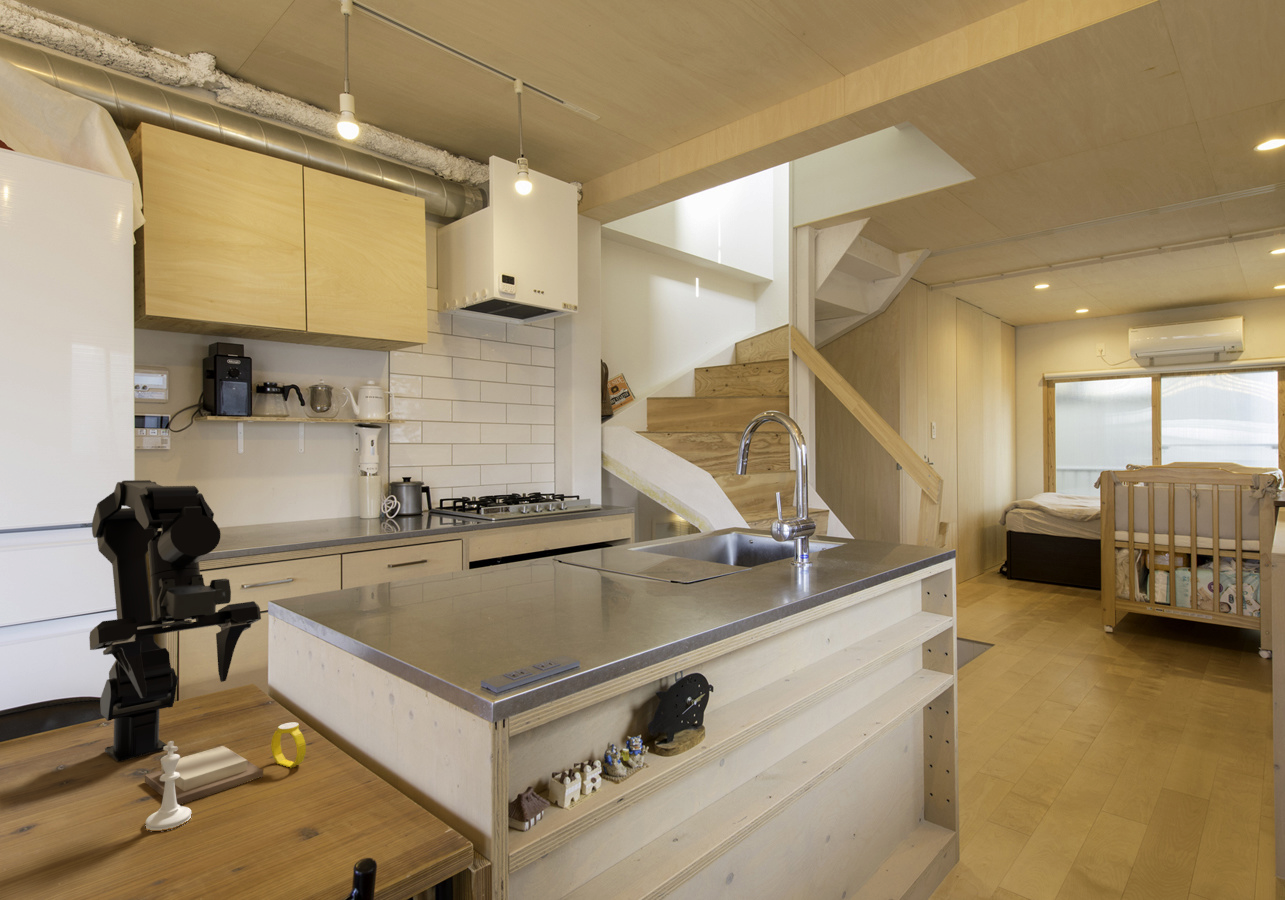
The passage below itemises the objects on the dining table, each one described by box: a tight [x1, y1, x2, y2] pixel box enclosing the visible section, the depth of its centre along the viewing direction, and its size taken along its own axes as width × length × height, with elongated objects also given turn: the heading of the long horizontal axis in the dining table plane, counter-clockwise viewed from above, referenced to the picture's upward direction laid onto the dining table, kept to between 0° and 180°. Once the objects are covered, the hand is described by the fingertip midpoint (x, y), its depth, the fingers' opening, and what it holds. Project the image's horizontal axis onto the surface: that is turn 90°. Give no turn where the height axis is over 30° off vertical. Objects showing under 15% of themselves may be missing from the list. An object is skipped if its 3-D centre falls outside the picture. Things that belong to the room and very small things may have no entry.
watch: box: [270, 721, 307, 769], centre depth 105 cm, size 6×3×6 cm, turn 64°
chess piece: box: [144, 740, 192, 830], centre depth 88 cm, size 5×5×10 cm
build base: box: [144, 745, 264, 806], centre depth 100 cm, size 11×11×2 cm
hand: (184, 689), depth 94 cm, fingers open, 9 cm apart
